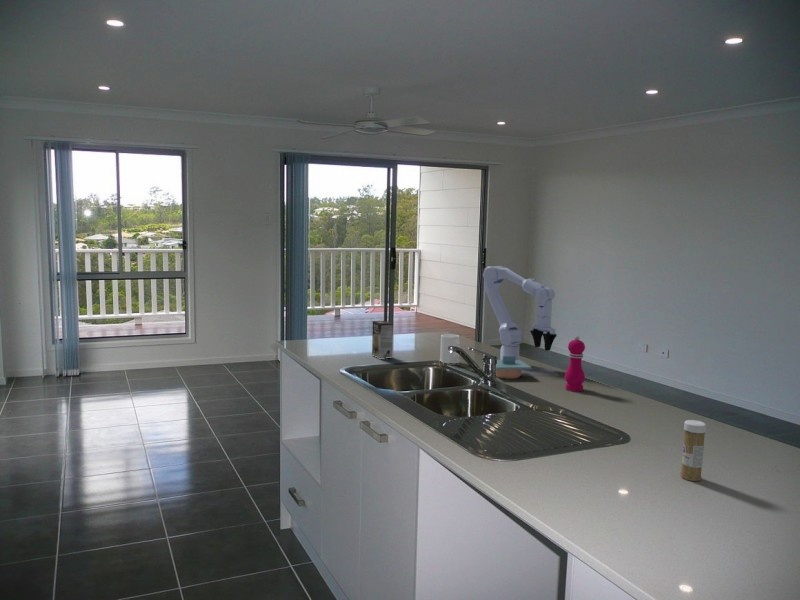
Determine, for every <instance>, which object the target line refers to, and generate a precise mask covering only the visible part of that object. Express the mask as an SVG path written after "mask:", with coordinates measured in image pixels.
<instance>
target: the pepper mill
mask: <svg viewBox="0 0 800 600" xmlns="http://www.w3.org/2000/svg"><path fill="white" fill-rule="evenodd" d="M567 349H568V351H569V352H568V357H569V365H568V368H567V369H566V371H565V374H564V380H565V381H566V383H565V387H564V388H565V390H567V391H569V390H571V392H582V391H583V390H584V384H583V383H584V382H585V381H586V375H585V372H584V370H583V367H582V360H583V358H584V353H583V352H584V351H585V349H586V345H585V343H584V342H583V341H582V340H580V336H579V335H575V336H574V339H572V340H570V342H568V345H567Z"/></svg>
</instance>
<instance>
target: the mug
mask: <svg viewBox="0 0 800 600" xmlns="http://www.w3.org/2000/svg"><path fill="white" fill-rule="evenodd" d="M448 346H457V347H459V348H461V344H460V335H459V334H452V333H443V334H441V335H440V351H439V352H440V354H439V355H440V356H439V362H440V361H441V362H444V363H458V364H460V360H459V359H460V357H459V356H460V355H459V354H458V353H456V352H452V353H450V352H449V351H448V348H447V347H448Z"/></svg>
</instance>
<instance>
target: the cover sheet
mask: <svg viewBox="0 0 800 600" xmlns="http://www.w3.org/2000/svg"><path fill="white" fill-rule="evenodd" d="M515 358H516V356H502V360H500V359H496V360H497V364H496V369H532V366H530V365H528V364H527V363H525V362H524V361H523V360H521V359H519V360H515Z"/></svg>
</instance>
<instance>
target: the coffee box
mask: <svg viewBox="0 0 800 600" xmlns="http://www.w3.org/2000/svg"><path fill="white" fill-rule="evenodd" d="M393 330H394V323H392V322H390V321H387V320H372V339H371V340H372V343H371V353H372V354H371V356H372V355H374V356H377V357H378V358H386V357H392V358H393V338H394V336H393V335H394V334H393V333H394V331H393ZM374 356H373V357H374Z"/></svg>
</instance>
